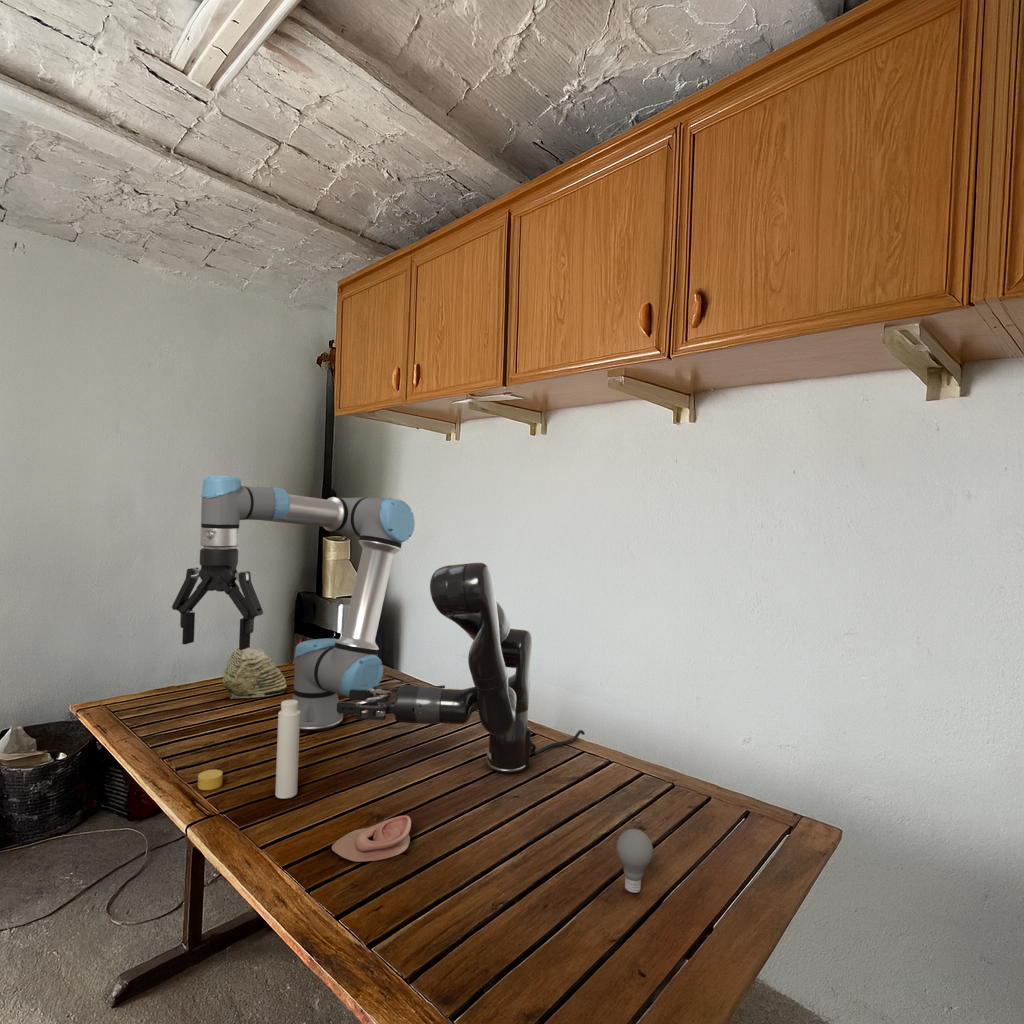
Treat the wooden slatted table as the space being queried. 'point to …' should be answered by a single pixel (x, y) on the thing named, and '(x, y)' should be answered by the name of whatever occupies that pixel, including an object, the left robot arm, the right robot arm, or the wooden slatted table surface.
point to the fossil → (252, 675)
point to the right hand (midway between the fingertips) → (343, 700)
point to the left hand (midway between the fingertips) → (216, 646)
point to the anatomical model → (375, 841)
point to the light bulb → (634, 857)
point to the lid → (210, 779)
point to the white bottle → (287, 749)
